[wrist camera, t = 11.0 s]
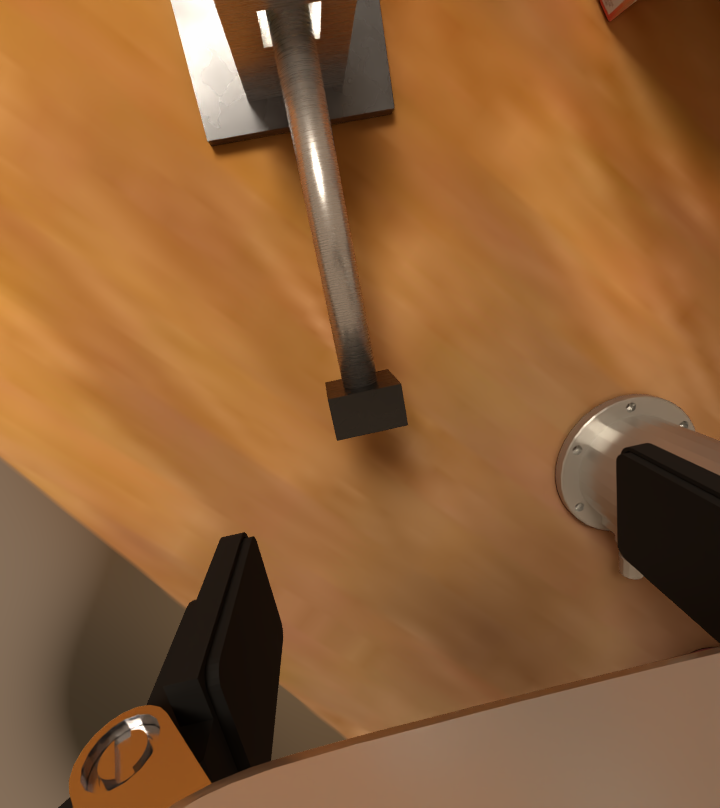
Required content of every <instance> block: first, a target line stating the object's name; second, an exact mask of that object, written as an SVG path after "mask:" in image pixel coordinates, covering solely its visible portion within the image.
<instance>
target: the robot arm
mask: <svg viewBox="0 0 720 808" xmlns="http://www.w3.org/2000/svg"><path fill="white" fill-rule="evenodd" d="M556 485H557V491H558V493H559V496H560V498H561V501H562V502H563V504H564V505H565V506H566V508H567V509H568V510H569V511H570V512H571V513H572V514H573V515H574V516H575V517H576V518H577V519H579V520H580V521H582V522H583V523H585V524H586V525H588V526H591V527H593V528H596V529H601V530H607V531H611V532H613V533H614V534H615V542H616V543H617V544H618V548H619V551H620V552H619V571H620V573H621V574H622V575H623V576H625V577H627V578H629V579H635V580H636V579H641V578H643V577H646V578H647V579H648V580H649V581H650V582H651V583H652V584H653V585H655V586H656V587H657V588H658V589H659V590H660V591H661V592H662V593H664V594H665V595H666V596H667V597H668V598H669V599H670V600H672V601H673V602H674V603H675V604H676V605H677V606H678V607H679V608H681V609H682V610H683V611H684V612H685V613H686V614H687V615H688V616H690V617H691V618H692V619H693V620H694V621H695V622H696V623H698V624H699V625H700V626H701V627H702V628H703V629H704V630H705V631H707V632H708V633H709V634H710V635H711V636H712V637H713V638H715V639H716V640H717V641H718V642H719V643H720V441H719V440H716V439H713V438H711V437H708V436H706V435H703V434H700V433H698V432H695V428H694V426H693V424H692V422H691V420H690V418H689V417H688V416H687V414H686V413H685V412H684V411H683V410H682V409H681V408H680V407H678V406H677V405H675V404H674V403H672V402H670V401H667V400H664V399H662V398H659V397H655V396H651V395H647V394H630V395H625V396H619V397H617V398H614V399H611V400H609V401H606V402H604V403H603V404H601V405H599V406H597V407H596V408H594V409H593V410H591V411H590V412H589V413H588V414H586V415H585V416H584V417H583V418H582V419H581V420H580V421H579V422H578V423H577V424H576V425H575V426H574V428H573V429H572V430H571V432H570V433H569V435H568V436H567V438H566V439H565V441H564V443H563V446H562V448H561V450H560V453H559V456H558V460H557V464H556ZM282 645H283V628H282V623H281V620H280V616H279V613H278V610H277V606H276V603H275V600H274V597H273V593H272V590H271V587H270V583H269V580H268V577H267V574H266V570H265V567H264V564H263V560H262V557H261V554H260V551H259V547H258V544H257V541H256V539H255V537H254V536H253V537H249V538H248V536H247V534H246V533H245V532H244V533H239V534H235V535H230V536H226V537H222V538H221V539H220V541H219V544H218V546H217V549H216V551H215V554H214V556H213V559H212V561H211V564H210V567H209V569H208V572H207V574H206V577H205V579H204V582H203V585H202V587H201V590H200V592H199V595H198V597H197V600H193V601H192V602H190V603H189V605H188V606H187V608H186V610H185V613H184V615H183V618H182V620H181V623H180V625H179V628H178V630H177V632H176V635H175V637H174V640H173V642H172V645H171V647H170V650H169V652H168V654H167V657H166V659H165V662H164V664H163V666H162V669H161V671H160V674H159V676H158V679H157V681H156V683H155V686H154V688H153V691H152V693H151V696H150V698H149V700H148V703H147V705H146V706H140V707H136V708H134V709H131V710H129V711H127V712H124V713H122V714H121V715H120V716H118V717H116V718H115V719H114V720H112V721H110V722H109V723H108V724H107V725H106V726H105V727H103V728H102V729H101V730H100V731H99V732H98V733H96V734H95V735H94V737H93V738H92V739H91V740H90V742H89V743H88V744H87V745H86V746H85V747H84V749H83V750H82V752H81V754H80V755H79V757H78V759H77V761H76V762H75V764H74V766H73V769H72V772H71V776H70V779H69V794H70V798H69V799H68V800H66V801H65V802H64V803H63V804H62V805H61V806H60V807H59V808H720V647H716V648H712V649H707V650H703V651H699V652H695V653H691V654H686V655H682V656H678V657H674V658H670V659H665V660H661V661H657V662H653V663H649V664H645V665H641V666H637V667H633V668H628V669H624V670H620V671H616V672H612V673H608V674H604V675H600V676H596V677H592V678H588V679H583V680H579V681H575V682H571V683H567V684H563V685H559V686H555V687H551V688H547V689H543V690H539V691H535V692H531V693H527V694H523V695H519V696H515V697H510V698H506V699H502V700H499V701H495V702H491V703H487V704H483V705H479V706H475V707H471V708H467V709H463V710H459V711H455V712H451V713H447V714H443V715H439V716H435V717H431V718H427V719H423V720H419V721H415V722H411V723H407V724H403V725H399V726H395V727H391V728H388V729H384V730H380V731H376V732H372V733H368V734H365V735H361V736H357V737H354V738H350V739H346V740H343V741H339V742H336V743H332V744H328V745H325V746H321V747H317V748H313V749H310V750H306V751H302V752H299V753H295V754H292V755H289V756H286V757H282V758H279V759H276V760H273V761H271V754H272V744H273V734H274V725H275V714H276V704H277V693H278V685H279V675H280V665H281V655H282Z"/></svg>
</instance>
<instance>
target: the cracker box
mask: <svg viewBox="0 0 720 808" xmlns="http://www.w3.org/2000/svg"><path fill="white" fill-rule="evenodd" d="M599 1H600V3H601V5H602V8H603V10H604V12H605V15H606V17H607V19H608V21H612V20H613V19H614V18H616V17H617V16H618V15H619V14H621V13H622V12H623V11H624V10H626V9H627V8H628V7H629V6H631V5H632V4H633V3H634V2H636V1H637V0H599Z"/></svg>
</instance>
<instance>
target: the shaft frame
mask: <svg viewBox="0 0 720 808" xmlns="http://www.w3.org/2000/svg"><path fill="white" fill-rule="evenodd" d="M171 3H172V7H173V11H174V14H175V18H176V22H177V26H178V30H179V34H180V37H181V41H182V45H183V49H184V53H185V57H186V60H187V64H188V68H189V72H190V76H191V80H192V83H193V87H194V91H195V95H196V99H197V103H198V107H199V110H200V114H201V118H202V122H203V126H204V130H205V133H206V137H207V141H208V142H209V144H210V145H211V146H215V145H221V144H226V143H232V142H238V141H243V140H249V139H254V138H260V137H266V136H271V135H277V134H283V133H288V132H290V127H289V122H288V118H287V113H286V108H285V103H284V98H283V94H282V89H281V84H280V79H279V74H278V70H277V65H276V60H275V55H274V50H273V46H272V41H271V36H270V31H269V26H268V22H267V17H266V12H265V10H269V9H276V8H282V7H288V6H294V5H301V4H307V3H309V8H310V13H311V19H312V24H313V30H314V35H315V40H316V46H317V51H318V57H319V62H320V68H321V73H322V79H323V84H324V90H325V95H326V101H327V106H328V112H329V117H330V123H331V125H333V124H339V123H345V122H350V121H356V120H362V119H367V118H373V117H379V116H384V115H390V114H392V112H393V110H394V102H393V94H392V87H391V80H390V73H389V66H388V59H387V52H386V45H385V38H384V31H383V24H382V17H381V10H380V3H379V0H171Z"/></svg>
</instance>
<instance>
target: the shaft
mask: <svg viewBox="0 0 720 808" xmlns="http://www.w3.org/2000/svg"><path fill="white" fill-rule="evenodd" d="M265 12H266V17H267V22H268V26H269V31H270V36H271V41H272V46H273V50H274V55H275V60H276V65H277V70H278V74H279V79H280V84H281V89H282V94H283V98H284V103H285V108H286V113H287V118H288V122H289V127H290V132H291V137H292V142H293V147H294V151H295V156H296V161H297V166H298V171H299V175H300V180H301V185H302V190H303V195H304V199H305V204H306V209H307V214H308V219H309V223H310V228H311V233H312V238H313V243H314V247H315V252H316V257H317V262H318V267H319V271H320V276H321V281H322V286H323V291H324V295H325V300H326V305H327V310H328V315H329V320H330V324H331V329H332V334H333V339H334V344H335V348H336V353H337V358H338V363H339V368H340V372H341V377H342V379H340V380H335V381H330V382H326V383H325V384H326V390H327V397H328V402H329V407H330V411H331V416H332V420H333V425H334V429H335V434H336V438H337V441H338V440H343V439H347V438H352V437H356V436H361V435H365V434H370V433H375V432H379V431H384V430H388V429H393V428H397V427H402V426H406V425H408V422H407V416H406V410H405V404H404V398H403V392H402V386H401V383H400V382H399V381H398V380H397V379H396V378H395V377H394V375H393V374H392V373H391V372H390V371H389V370H388V369H387V370H382V371H378V372H376V370H375V364H374V359H373V353H372V348H371V342H370V337H369V331H368V326H367V320H366V315H365V309H364V304H363V298H362V293H361V287H360V282H359V276H358V271H357V265H356V260H355V254H354V249H353V243H352V238H351V232H350V227H349V221H348V216H347V211H346V205H345V200H344V194H343V189H342V183H341V178H340V172H339V167H338V161H337V156H336V150H335V145H334V139H333V134H332V128H331V123H330V117H329V112H328V106H327V101H326V95H325V90H324V84H323V79H322V73H321V68H320V62H319V57H318V51H317V46H316V40H315V35H314V30H313V24H312V19H311V13H310V8H309V3H307V4H301V5H294V6H288V7H282V8H276V9H269V10H265Z"/></svg>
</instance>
